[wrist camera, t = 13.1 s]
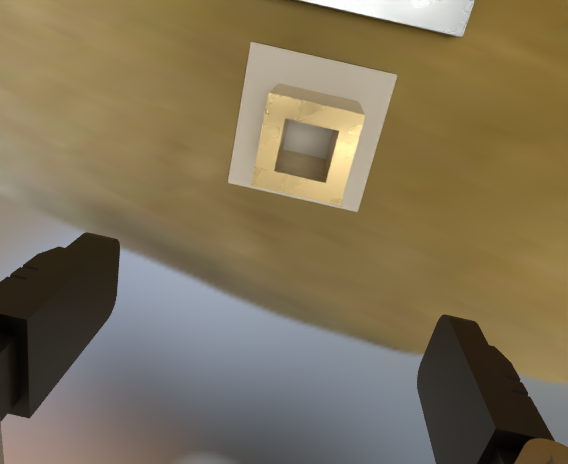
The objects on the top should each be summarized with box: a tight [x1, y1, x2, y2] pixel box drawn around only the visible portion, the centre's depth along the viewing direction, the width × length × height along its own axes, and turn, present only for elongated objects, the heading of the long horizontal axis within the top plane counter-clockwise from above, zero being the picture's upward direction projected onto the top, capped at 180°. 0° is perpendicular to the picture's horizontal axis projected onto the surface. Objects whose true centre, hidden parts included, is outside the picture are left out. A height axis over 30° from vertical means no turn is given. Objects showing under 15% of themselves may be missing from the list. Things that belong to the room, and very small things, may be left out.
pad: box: [228, 42, 397, 212], centre depth 33 cm, size 10×10×1 cm
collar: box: [251, 83, 365, 206], centre depth 30 cm, size 6×6×6 cm
